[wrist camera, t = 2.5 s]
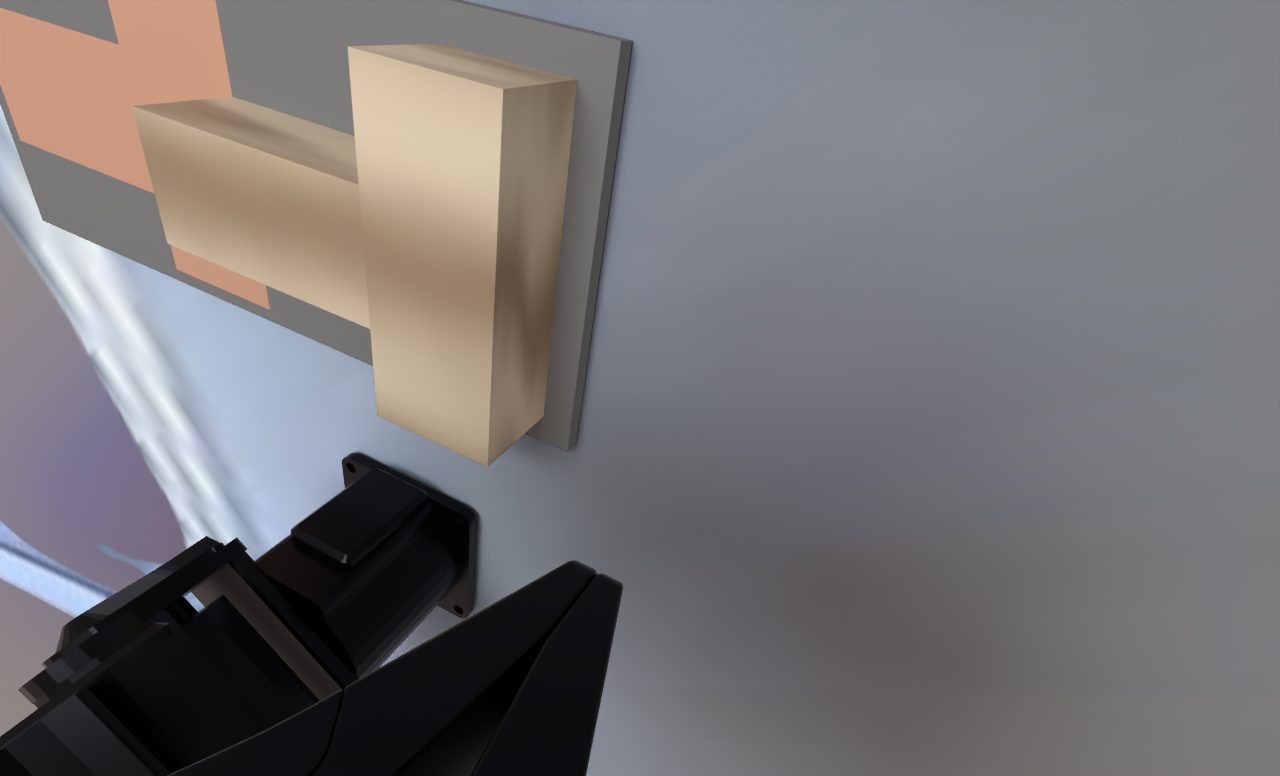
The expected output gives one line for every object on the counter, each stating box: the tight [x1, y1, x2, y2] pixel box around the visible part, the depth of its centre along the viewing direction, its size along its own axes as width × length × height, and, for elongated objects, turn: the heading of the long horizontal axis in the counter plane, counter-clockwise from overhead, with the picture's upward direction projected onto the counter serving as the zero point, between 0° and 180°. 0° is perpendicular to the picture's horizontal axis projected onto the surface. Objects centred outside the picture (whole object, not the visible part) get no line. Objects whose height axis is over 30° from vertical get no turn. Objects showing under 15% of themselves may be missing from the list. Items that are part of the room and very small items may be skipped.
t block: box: [132, 44, 577, 467], centre depth 18 cm, size 10×12×3 cm
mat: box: [0, 0, 632, 452], centre depth 21 cm, size 12×26×1 cm, turn 80°
